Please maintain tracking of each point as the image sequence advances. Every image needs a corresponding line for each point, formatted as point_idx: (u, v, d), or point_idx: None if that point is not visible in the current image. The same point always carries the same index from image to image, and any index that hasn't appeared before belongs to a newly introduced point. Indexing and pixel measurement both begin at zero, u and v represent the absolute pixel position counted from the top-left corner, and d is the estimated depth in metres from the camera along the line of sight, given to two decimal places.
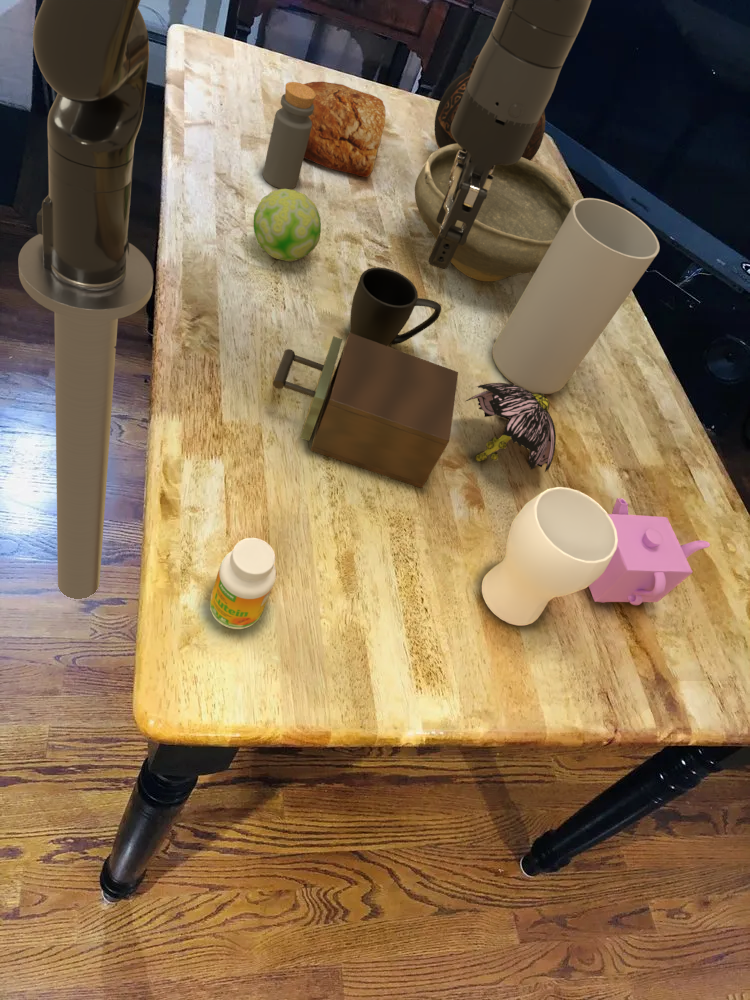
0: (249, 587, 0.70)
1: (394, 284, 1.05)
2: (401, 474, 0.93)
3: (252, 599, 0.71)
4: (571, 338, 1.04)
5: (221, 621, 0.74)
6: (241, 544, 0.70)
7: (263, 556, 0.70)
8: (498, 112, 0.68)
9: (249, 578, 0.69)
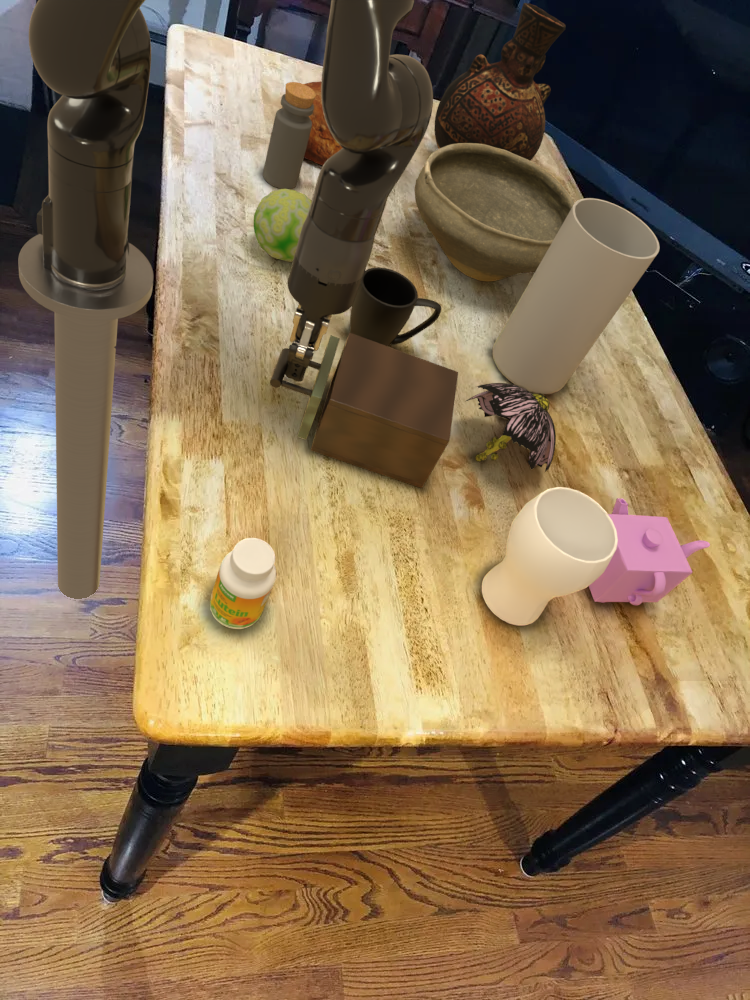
0: (249, 587, 0.70)
1: (394, 284, 1.05)
2: (401, 474, 0.93)
3: (252, 599, 0.71)
4: (571, 338, 1.04)
5: (221, 621, 0.74)
6: (241, 544, 0.70)
7: (263, 556, 0.70)
8: (319, 276, 0.77)
9: (249, 578, 0.69)
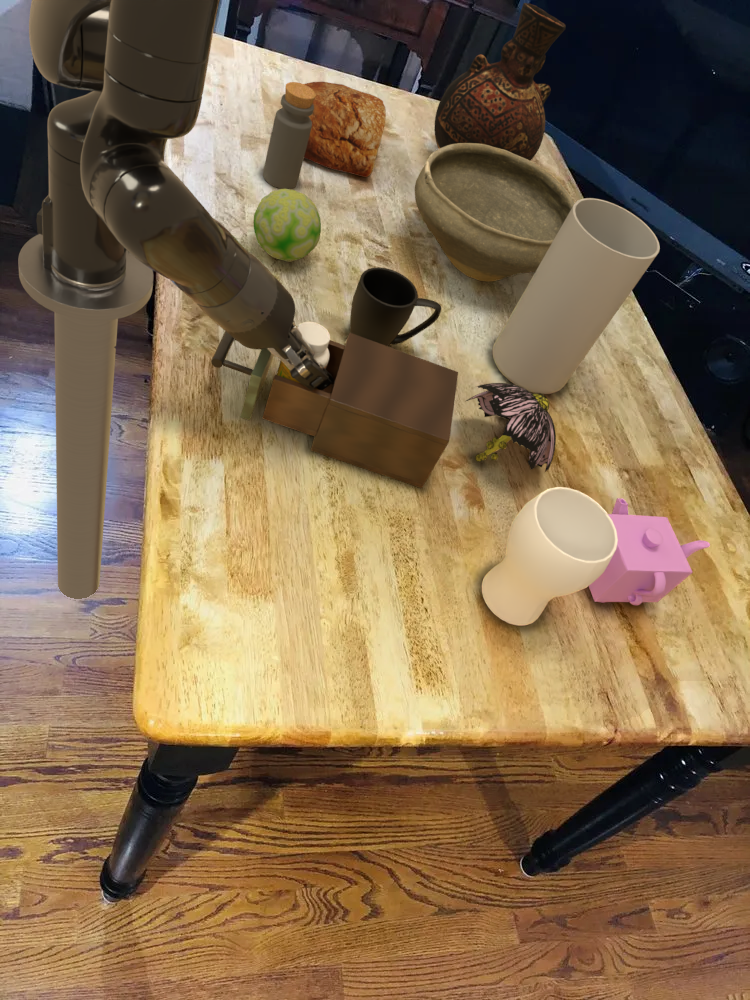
0: None
1: (394, 284, 1.05)
2: (401, 474, 0.93)
3: None
4: (571, 338, 1.04)
5: None
6: (303, 325, 0.87)
7: (321, 334, 0.87)
8: None
9: None
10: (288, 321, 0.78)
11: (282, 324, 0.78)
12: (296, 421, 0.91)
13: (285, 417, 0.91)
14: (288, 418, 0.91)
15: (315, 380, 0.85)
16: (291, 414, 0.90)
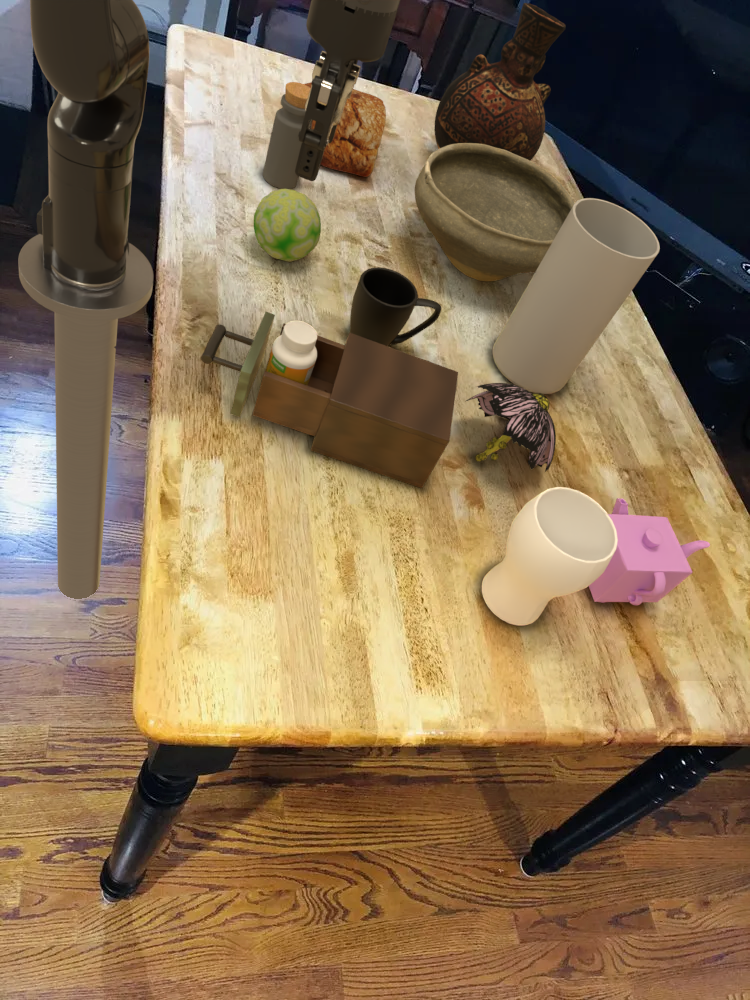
0: (297, 358, 0.87)
1: (394, 284, 1.05)
2: (401, 474, 0.93)
3: (298, 370, 0.88)
4: (571, 338, 1.04)
5: None
6: (290, 323, 0.87)
7: (308, 333, 0.87)
8: None
9: (297, 348, 0.86)
10: None
11: None
12: (286, 418, 0.91)
13: (275, 414, 0.91)
14: (278, 415, 0.91)
15: None
16: (281, 411, 0.90)
